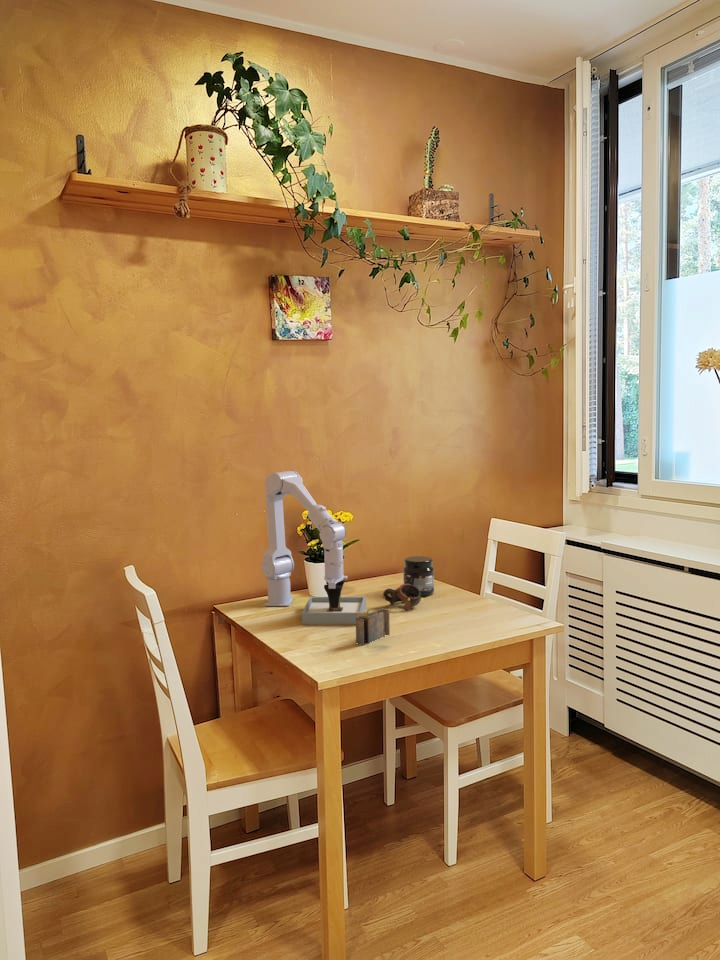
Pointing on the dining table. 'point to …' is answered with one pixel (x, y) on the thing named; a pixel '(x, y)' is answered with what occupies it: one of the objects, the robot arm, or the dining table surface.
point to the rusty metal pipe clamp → (403, 596)
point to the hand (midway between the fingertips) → (335, 605)
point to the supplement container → (419, 575)
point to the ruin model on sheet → (372, 625)
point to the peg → (335, 608)
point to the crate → (320, 615)
